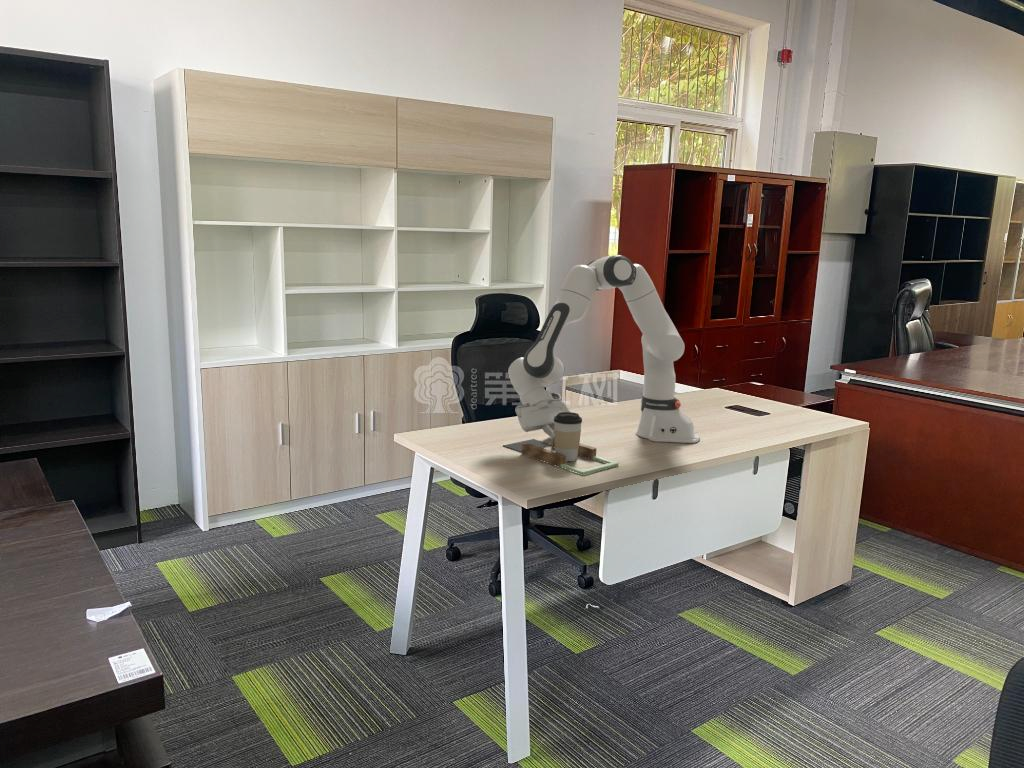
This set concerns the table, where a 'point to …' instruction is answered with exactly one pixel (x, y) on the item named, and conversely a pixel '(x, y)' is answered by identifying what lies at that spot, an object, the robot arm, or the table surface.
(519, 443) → the mat
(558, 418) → the coffee cup
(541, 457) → the channel
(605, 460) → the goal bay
